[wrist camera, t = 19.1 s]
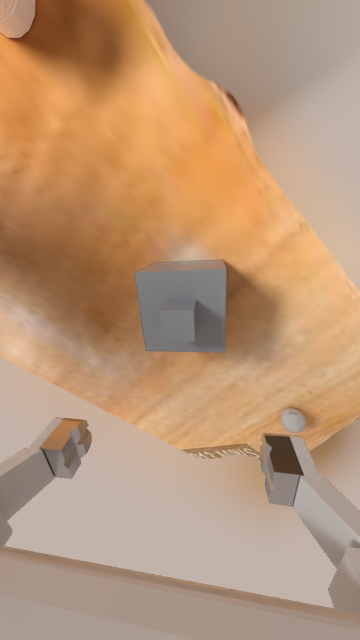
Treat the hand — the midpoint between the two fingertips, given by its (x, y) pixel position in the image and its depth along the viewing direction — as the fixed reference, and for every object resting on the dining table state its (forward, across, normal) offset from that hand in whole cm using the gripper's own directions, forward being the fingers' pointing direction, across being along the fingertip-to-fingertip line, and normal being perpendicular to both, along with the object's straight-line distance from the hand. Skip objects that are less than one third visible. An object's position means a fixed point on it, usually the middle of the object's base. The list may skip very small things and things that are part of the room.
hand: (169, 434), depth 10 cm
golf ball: (+25, -16, +23) cm, 38 cm away
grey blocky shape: (+25, +2, 0) cm, 25 cm away
